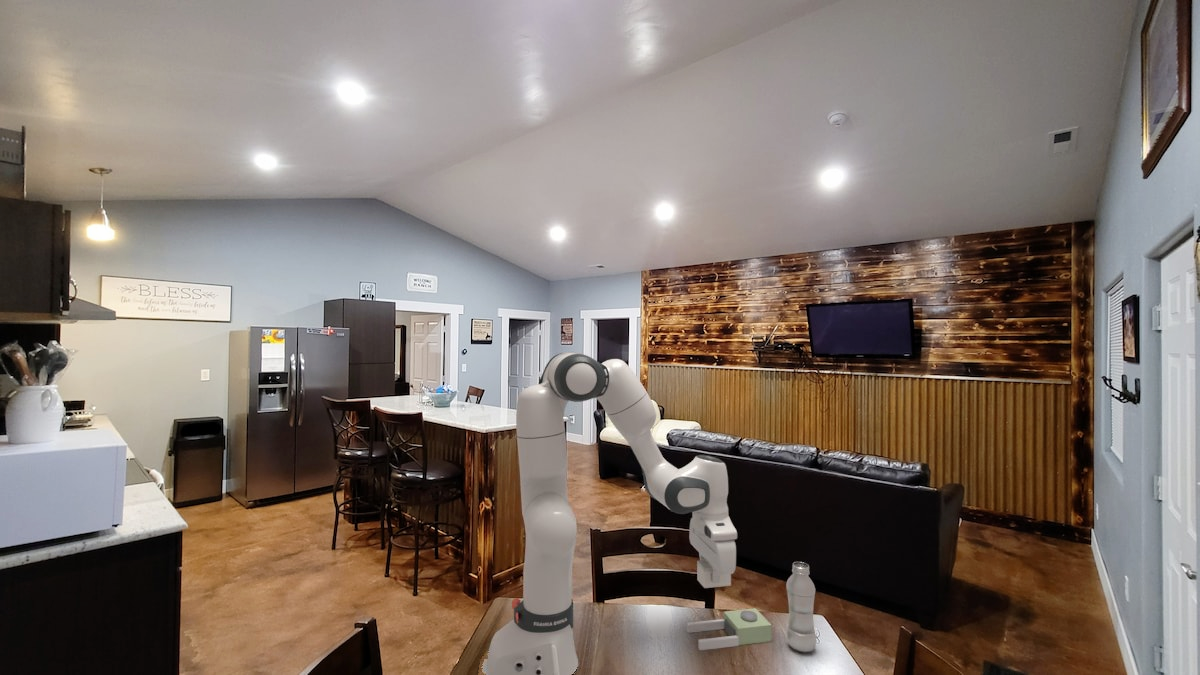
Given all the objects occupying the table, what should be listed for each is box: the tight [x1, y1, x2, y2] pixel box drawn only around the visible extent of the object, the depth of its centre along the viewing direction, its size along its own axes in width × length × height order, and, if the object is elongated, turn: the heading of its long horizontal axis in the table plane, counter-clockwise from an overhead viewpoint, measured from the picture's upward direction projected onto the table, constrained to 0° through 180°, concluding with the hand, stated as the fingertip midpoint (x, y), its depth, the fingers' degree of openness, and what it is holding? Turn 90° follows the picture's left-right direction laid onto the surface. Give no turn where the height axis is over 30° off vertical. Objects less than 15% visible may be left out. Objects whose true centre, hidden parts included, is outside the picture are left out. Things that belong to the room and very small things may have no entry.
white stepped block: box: [696, 559, 732, 589], centre depth 124 cm, size 7×4×5 cm, turn 101°
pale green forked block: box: [686, 607, 773, 651], centre depth 125 cm, size 19×8×5 cm, turn 101°
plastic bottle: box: [785, 561, 817, 653], centre depth 120 cm, size 6×7×20 cm
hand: (710, 576), depth 124 cm, fingers closed on white stepped block, 4 cm apart
